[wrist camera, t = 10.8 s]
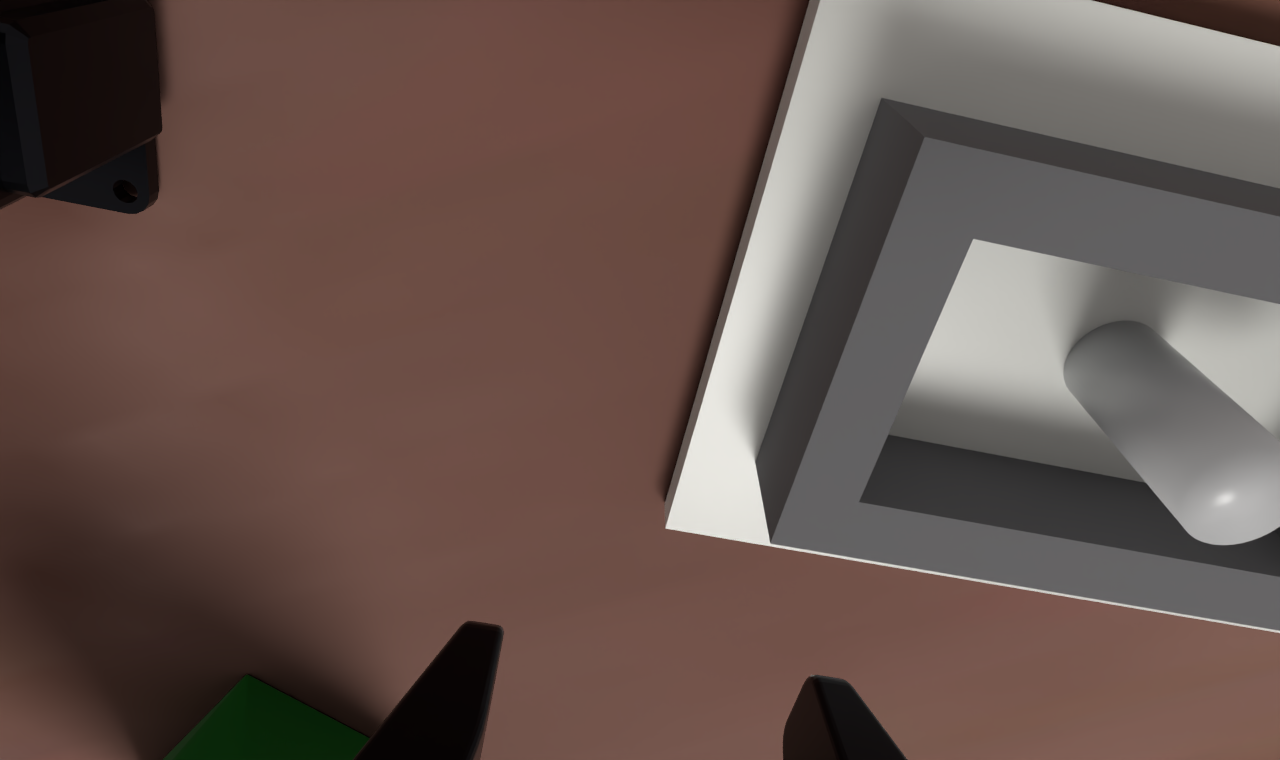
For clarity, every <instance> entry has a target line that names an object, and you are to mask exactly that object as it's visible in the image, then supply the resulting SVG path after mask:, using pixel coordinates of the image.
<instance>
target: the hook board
mask: <svg viewBox="0 0 1280 760" xmlns="http://www.w3.org/2000/svg"><path fill="white" fill-rule="evenodd" d="M881 98H885V99H889V100H894V101H898V102H903V103H907V104H911V105H916V106H920V107H924V108H929V109H933V110H938V111H942V112H946V113H951V114H955V115H960V116H964V117H968V118H973V119H977V120H982V121H986V122H990V123H995V124H999V125H1003V126H1008V127H1012V128H1017V129H1021V130H1025V131H1030V132H1034V133H1039V134H1043V135H1047V136H1052V137H1056V138H1060V139H1065V140H1069V141H1074V142H1078V143H1082V144H1087V145H1091V146H1096V147H1100V148H1104V149H1109V150H1113V151H1118V152H1122V153H1126V154H1131V155H1135V156H1139V157H1144V158H1148V159H1153V160H1157V161H1161V162H1166V163H1170V164H1175V165H1179V166H1183V167H1188V168H1192V169H1197V170H1201V171H1205V172H1210V173H1214V174H1218V175H1223V176H1227V177H1232V178H1236V179H1240V180H1245V181H1249V182H1254V183H1258V184H1262V185H1267V186H1271V187H1275V188H1280V46H1276V45H1272V44H1268V43H1264V42H1260V41H1256V40H1252V39H1248V38H1244V37H1240V36H1236V35H1232V34H1228V33H1223V32H1219V31H1215V30H1211V29H1207V28H1203V27H1199V26H1195V25H1191V24H1187V23H1183V22H1179V21H1175V20H1170V19H1166V18H1162V17H1158V16H1154V15H1150V14H1146V13H1142V12H1138V11H1134V10H1130V9H1126V8H1122V7H1117V6H1113V5H1109V4H1105V3H1101V2H1097V1H1093V0H810V1H809V4H808V8H807V11H806V15H805V18H804V21H803V25H802V28H801V32H800V35H799V39H798V42H797V46H796V49H795V53H794V56H793V60H792V63H791V67H790V70H789V74H788V77H787V81H786V84H785V88H784V91H783V94H782V98H781V101H780V105H779V108H778V112H777V115H776V119H775V122H774V126H773V129H772V133H771V136H770V140H769V143H768V147H767V150H766V154H765V157H764V161H763V164H762V167H761V171H760V174H759V178H758V181H757V185H756V188H755V192H754V195H753V199H752V202H751V206H750V209H749V213H748V216H747V220H746V223H745V227H744V230H743V234H742V237H741V240H740V244H739V247H738V251H737V254H736V258H735V261H734V265H733V268H732V272H731V275H730V279H729V282H728V286H727V289H726V293H725V296H724V300H723V303H722V307H721V310H720V313H719V317H718V320H717V324H716V327H715V331H714V334H713V338H712V341H711V345H710V348H709V352H708V355H707V359H706V362H705V366H704V369H703V373H702V376H701V380H700V383H699V386H698V390H697V393H696V397H695V400H694V404H693V407H692V411H691V414H690V418H689V421H688V425H687V428H686V432H685V435H684V439H683V442H682V446H681V449H680V453H679V456H678V459H677V463H676V466H675V470H674V473H673V477H672V480H671V484H670V487H669V491H668V494H667V498H666V501H665V528H666V529H672V530H678V531H684V532H690V533H696V534H701V535H707V536H713V537H719V538H725V539H731V540H737V541H743V542H749V543H754V544H760V545H766V546H772V547H778V548H784V549H790V550H796V551H801V552H807V553H813V554H819V555H825V556H831V557H837V558H843V559H848V560H854V561H860V562H866V563H872V564H878V565H884V566H890V567H895V568H901V569H907V570H913V571H919V572H925V573H931V574H937V575H943V576H948V577H954V578H960V579H966V580H972V581H978V582H984V583H990V584H995V585H1001V586H1007V587H1013V588H1019V589H1025V590H1031V591H1037V592H1042V593H1048V594H1054V595H1060V596H1066V597H1072V598H1078V599H1084V600H1089V601H1095V602H1101V603H1107V604H1113V605H1119V606H1125V607H1131V608H1137V609H1142V610H1148V611H1154V612H1160V613H1166V614H1172V615H1178V616H1184V617H1189V618H1195V619H1201V620H1207V621H1213V622H1219V623H1225V624H1231V625H1236V626H1242V627H1248V628H1254V629H1260V630H1266V631H1272V632H1278V633H1280V631H1278V630H1273V629H1267V628H1261V627H1255V626H1249V625H1243V624H1237V623H1232V622H1226V621H1220V620H1214V619H1208V618H1202V617H1197V616H1191V615H1185V614H1179V613H1173V612H1167V611H1161V610H1156V609H1150V608H1144V607H1138V606H1132V605H1126V604H1121V603H1115V602H1109V601H1103V600H1097V599H1091V598H1085V597H1080V596H1074V595H1068V594H1062V593H1056V592H1050V591H1045V590H1039V589H1033V588H1027V587H1021V586H1015V585H1009V584H1004V583H998V582H992V581H986V580H980V579H974V578H968V577H963V576H957V575H951V574H945V573H939V572H933V571H928V570H922V569H916V568H910V567H904V566H898V565H892V564H887V563H881V562H875V561H869V560H863V559H857V558H852V557H846V556H840V555H834V554H828V553H822V552H816V551H811V550H805V549H799V548H793V547H787V546H781V545H775V544H770V539H769V534H768V529H767V523H766V518H765V513H764V507H763V502H762V497H761V491H760V486H759V481H758V475H757V470H756V464H755V462H756V459H757V456H758V453H759V450H760V447H761V444H762V442H763V439H764V436H765V433H766V430H767V427H768V424H769V421H770V418H771V416H772V413H773V410H774V407H775V404H776V401H777V398H778V395H779V392H780V390H781V387H782V384H783V381H784V378H785V375H786V372H787V369H788V366H789V364H790V361H791V358H792V355H793V352H794V349H795V346H796V343H797V340H798V338H799V335H800V332H801V329H802V326H803V323H804V320H805V317H806V314H807V312H808V309H809V306H810V303H811V300H812V297H813V294H814V291H815V288H816V286H817V283H818V280H819V277H820V274H821V271H822V268H823V265H824V262H825V260H826V257H827V254H828V251H829V248H830V245H831V242H832V239H833V236H834V234H835V231H836V228H837V225H838V222H839V219H840V216H841V213H842V210H843V208H844V205H845V202H846V199H847V196H848V193H849V190H850V187H851V184H852V182H853V179H854V176H855V173H856V170H857V167H858V164H859V161H860V158H861V156H862V153H863V150H864V147H865V144H866V141H867V138H868V135H869V132H870V130H871V127H872V124H873V121H874V118H875V115H876V112H877V109H878V106H879V104H880V101H881ZM888 435H893V436H898V437H904V438H909V439H914V440H920V441H925V442H931V443H936V444H941V445H947V446H952V447H957V448H963V449H968V450H973V451H979V452H984V453H989V454H995V455H1000V456H1005V457H1011V458H1016V459H1022V460H1027V461H1032V462H1038V463H1043V464H1048V465H1054V466H1059V467H1064V468H1070V469H1075V470H1080V471H1086V472H1091V473H1096V474H1102V475H1107V476H1112V477H1118V478H1123V479H1129V480H1134V481H1139V482H1145V483H1147V485H1148V486H1149V487H1150V488H1151V489H1152V491H1153V492H1154V493H1155V494H1156V495H1157V497H1158V498H1159V499H1160V500H1161V501H1162V503H1163V504H1164V505H1165V506H1166V507H1167V509H1168V510H1169V511H1170V512H1171V513H1172V514H1173V516H1174V517H1175V518H1176V519H1177V520H1178V522H1179V523H1180V524H1181V525H1182V526H1183V528H1184V529H1185V530H1186V531H1187V532H1188V534H1190V535H1191V536H1192V537H1194V538H1195V539H1197V540H1199V541H1202V542H1204V543H1208V544H1214V545H1234V544H1240V543H1244V542H1248V541H1252V540H1254V539H1257V538H1260V537H1262V536H1264V535H1267V534H1268V533H1270V532H1272V531H1274V530H1275V529H1277V528H1278V527H1280V304H1277V303H1272V302H1267V301H1263V300H1258V299H1253V298H1248V297H1244V296H1239V295H1234V294H1230V293H1225V292H1220V291H1216V290H1211V289H1206V288H1202V287H1197V286H1192V285H1187V284H1183V283H1178V282H1173V281H1169V280H1164V279H1159V278H1155V277H1150V276H1145V275H1141V274H1136V273H1131V272H1126V271H1122V270H1117V269H1112V268H1108V267H1103V266H1098V265H1094V264H1089V263H1084V262H1080V261H1075V260H1070V259H1065V258H1061V257H1056V256H1051V255H1047V254H1042V253H1037V252H1033V251H1028V250H1023V249H1018V248H1014V247H1009V246H1004V245H1000V244H995V243H990V242H986V241H981V240H976V239H973V241H972V243H971V245H970V247H969V250H968V252H967V254H966V257H965V259H964V261H963V264H962V266H961V268H960V270H959V273H958V275H957V277H956V280H955V282H954V284H953V287H952V289H951V291H950V294H949V296H948V298H947V300H946V303H945V305H944V307H943V310H942V312H941V314H940V317H939V319H938V321H937V323H936V326H935V328H934V330H933V333H932V335H931V337H930V340H929V342H928V344H927V346H926V349H925V351H924V353H923V356H922V358H921V360H920V363H919V365H918V367H917V369H916V372H915V374H914V376H913V379H912V381H911V383H910V386H909V388H908V390H907V393H906V395H905V397H904V399H903V402H902V404H901V406H900V409H899V411H898V413H897V416H896V418H895V420H894V422H893V425H892V427H891V429H890V432H889V434H888Z"/></svg>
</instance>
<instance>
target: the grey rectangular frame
mask: <svg viewBox="0 0 1280 760" xmlns="http://www.w3.org/2000/svg"><path fill="white" fill-rule="evenodd" d="M973 239H976V240H981V241H986V242H990V243H995V244H1000V245H1004V246H1009V247H1014V248H1018V249H1023V250H1028V251H1033V252H1037V253H1042V254H1047V255H1051V256H1056V257H1061V258H1065V259H1070V260H1075V261H1080V262H1084V263H1089V264H1094V265H1098V266H1103V267H1108V268H1112V269H1117V270H1122V271H1126V272H1131V273H1136V274H1141V275H1145V276H1150V277H1155V278H1159V279H1164V280H1169V281H1173V282H1178V283H1183V284H1187V285H1192V286H1197V287H1202V288H1206V289H1211V290H1216V291H1220V292H1225V293H1230V294H1234V295H1239V296H1244V297H1248V298H1253V299H1258V300H1263V301H1267V302H1272V303H1277V304H1280V188H1275V187H1271V186H1267V185H1262V184H1258V183H1254V182H1249V181H1245V180H1240V179H1236V178H1232V177H1227V176H1223V175H1218V174H1214V173H1210V172H1205V171H1201V170H1197V169H1192V168H1188V167H1183V166H1179V165H1175V164H1170V163H1166V162H1161V161H1157V160H1153V159H1148V158H1144V157H1139V156H1135V155H1131V154H1126V153H1122V152H1118V151H1113V150H1109V149H1104V148H1100V147H1096V146H1091V145H1087V144H1082V143H1078V142H1074V141H1069V140H1065V139H1060V138H1056V137H1052V136H1047V135H1043V134H1039V133H1034V132H1030V131H1025V130H1021V129H1017V128H1012V127H1008V126H1003V125H999V124H995V123H990V122H986V121H982V120H977V119H973V118H968V117H964V116H960V115H955V114H951V113H946V112H942V111H938V110H933V109H929V108H924V107H920V106H916V105H911V104H907V103H903V102H898V101H894V100H889V99H885V98H881V101H880V104H879V106H878V109H877V112H876V115H875V118H874V121H873V124H872V127H871V130H870V132H869V135H868V138H867V141H866V144H865V147H864V150H863V153H862V156H861V158H860V161H859V164H858V167H857V170H856V173H855V176H854V179H853V182H852V184H851V187H850V190H849V193H848V196H847V199H846V202H845V205H844V208H843V210H842V213H841V216H840V219H839V222H838V225H837V228H836V231H835V234H834V236H833V239H832V242H831V245H830V248H829V251H828V254H827V257H826V260H825V262H824V265H823V268H822V271H821V274H820V277H819V280H818V283H817V286H816V288H815V291H814V294H813V297H812V300H811V303H810V306H809V309H808V312H807V314H806V317H805V320H804V323H803V326H802V329H801V332H800V335H799V338H798V340H797V343H796V346H795V349H794V352H793V355H792V358H791V361H790V364H789V366H788V369H787V372H786V375H785V378H784V381H783V384H782V387H781V390H780V392H779V395H778V398H777V401H776V404H775V407H774V410H773V413H772V416H771V418H770V421H769V424H768V427H767V430H766V433H765V436H764V439H763V442H762V444H761V447H760V450H759V453H758V456H757V459H756V462H755V464H756V470H757V475H758V481H759V486H760V491H761V497H762V502H763V507H764V513H765V518H766V523H767V529H768V534H769V539H770V544H775V545H781V546H787V547H793V548H799V549H805V550H811V551H816V552H822V553H828V554H834V555H840V556H846V557H852V558H857V559H863V560H869V561H875V562H881V563H887V564H892V565H898V566H904V567H910V568H916V569H922V570H928V571H933V572H939V573H945V574H951V575H957V576H963V577H968V578H974V579H980V580H986V581H992V582H998V583H1004V584H1009V585H1015V586H1021V587H1027V588H1033V589H1039V590H1045V591H1050V592H1056V593H1062V594H1068V595H1074V596H1080V597H1085V598H1091V599H1097V600H1103V601H1109V602H1115V603H1121V604H1126V605H1132V606H1138V607H1144V608H1150V609H1156V610H1161V611H1167V612H1173V613H1179V614H1185V615H1191V616H1197V617H1202V618H1208V619H1214V620H1220V621H1226V622H1232V623H1237V624H1243V625H1249V626H1255V627H1261V628H1267V629H1273V630H1278V631H1280V527H1278V528H1277V529H1275V530H1274V531H1272V532H1270V533H1268V534H1267V535H1264V536H1262V537H1260V538H1257V539H1254V540H1252V541H1248V542H1244V543H1240V544H1234V545H1214V544H1208V543H1204V542H1202V541H1199V540H1197V539H1195V538H1194V537H1192V536H1191V535H1190V534H1188V532H1187V531H1186V530H1185V529H1184V528H1183V526H1182V525H1181V524H1180V523H1179V522H1178V520H1177V519H1176V518H1175V517H1174V516H1173V514H1172V513H1171V512H1170V511H1169V510H1168V509H1167V507H1166V506H1165V505H1164V504H1163V503H1162V501H1161V500H1160V499H1159V498H1158V497H1157V495H1156V494H1155V493H1154V492H1153V491H1152V489H1151V488H1150V487H1149V486H1148V485H1147V483H1145V482H1139V481H1134V480H1129V479H1123V478H1118V477H1112V476H1107V475H1102V474H1096V473H1091V472H1086V471H1080V470H1075V469H1070V468H1064V467H1059V466H1054V465H1048V464H1043V463H1038V462H1032V461H1027V460H1022V459H1016V458H1011V457H1005V456H1000V455H995V454H989V453H984V452H979V451H973V450H968V449H963V448H957V447H952V446H947V445H941V444H936V443H931V442H925V441H920V440H914V439H909V438H904V437H898V436H893V435H888V434H889V432H890V429H891V427H892V425H893V422H894V420H895V418H896V416H897V413H898V411H899V409H900V406H901V404H902V402H903V399H904V397H905V395H906V393H907V390H908V388H909V386H910V383H911V381H912V379H913V376H914V374H915V372H916V369H917V367H918V365H919V363H920V360H921V358H922V356H923V353H924V351H925V349H926V346H927V344H928V342H929V340H930V337H931V335H932V333H933V330H934V328H935V326H936V323H937V321H938V319H939V317H940V314H941V312H942V310H943V307H944V305H945V303H946V300H947V298H948V296H949V294H950V291H951V289H952V287H953V284H954V282H955V280H956V277H957V275H958V273H959V270H960V268H961V266H962V264H963V261H964V259H965V257H966V254H967V252H968V250H969V247H970V245H971V243H972V241H973Z"/></svg>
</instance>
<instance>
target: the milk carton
mask: <svg viewBox="0 0 1280 760" xmlns="http://www.w3.org/2000/svg"><path fill="white" fill-rule="evenodd" d="M369 739H370V738H368V737H366V736H364V735H363V734H361V733H359V732H357V731H355V730H353V729H351V728H349V727H347V726H345V725H343V724H342V723H340V722H338V721H336V720H334V719H332V718H330V717H328V716H326V715H324V714H322V713H320V712H319V711H317V710H315V709H313V708H311V707H309V706H307V705H305V704H303V703H301V702H299V701H298V700H296V699H294V698H292V697H290V696H288V695H286V694H284V693H282V692H280V691H278V690H276V689H275V688H273V687H271V686H269V685H267V684H265V683H263V682H261V681H259V680H257V679H255V678H254V677H252V676H250V675H245V676H244V677H243V678H242V679H241V680H240V681H239V682H238V683H237V684H236V685H235V686H234V687H233V688H232V689H231V690H230V692H229V693H228V694H227V695H226V696H225V697H224V698H223V699H222V700H221V701H220V702H219V703H218V704H217V705H216V706H215V707H214V708H213V709H212V710H211V711H210V712H209V713H208V714H207V715H206V716H205V717H204V718H203V719H202V720H201V721H200V722H199V723H198V724H197V725H196V726H195V727H194V728H193V729H192V730H191V731H190V732H189V733H188V734H187V735H186V736H185V737H184V738H183V739H182V740H181V741H180V742H179V743H178V744H177V745H176V746H175V748H174V749H173V750H172V751H171V752H170V753H169V754H168V755H167V756H166V757H165V758H164V759H163V760H353V759H354V758H355V756H356V755H357V754H358V753H359V751H360V750H361V749H362V748H363V746H364V745H365V744H366V743H367V741H368V740H369Z"/></svg>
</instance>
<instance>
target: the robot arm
mask: <svg viewBox="0 0 1280 760" xmlns="http://www.w3.org/2000/svg"><path fill="white" fill-rule="evenodd" d="M161 131H162V117H161V103H160V89H159V74H158V60H157V46H156V32H155V18H154V10H153V8H152V7H151V5H150V4H149V2H148V1H147V0H0V209H2V208H4V207H6V206H8V205H10V204H12V203H14V202H16V201H18V200H20V199H22V198H24V197H26V196H30V197H35V198H36V197H45V198H50V199H55V200H60V201H66V202H71V203H76V204H81V205H86V206H91V207H96V208H102V209H107V210H112V211H117V212H122V213H127V214H137V213H139V212H141V211H144V210H145V209H147V208H148V207H150V206H151V205H153V204H154V203H155V201H156V200H157V199H158V192H159V187H158V174H157V161H156V147H155V137H156V136H157V135H158V134H160V133H161ZM123 180H126V181H128V182H130V183H131V184H132V185H133V186H134V187H135V188H136V190H137V193H138V196H137V197H135V196H132V195H130V194H129V193H128V192H127V191H126V190H125V188H124V186H123ZM503 635H504V631H503V628H502V627H501V626H499V625H495V624H488V623H482V622H475V621H467V622H465V623H464V624H463V625H461V627H460V628H459V629H458V630H457V631H456V633H455V634H454V635H453V636H452V638H451V639H450V640H449V641H448V642H447V644H446V645H445V646H444V647H443V649H442V650H441V651H440V652H439V654H438V655H437V656H436V657H435V659H434V660H433V661H432V662H431V663H430V665H429V666H428V667H427V668H426V670H425V671H424V672H423V673H422V675H421V676H420V677H419V678H418V680H417V681H416V682H415V683H414V685H413V686H412V687H411V688H410V689H409V691H408V692H407V693H406V694H405V696H404V697H403V698H402V699H401V701H400V702H399V703H398V704H397V706H396V707H395V708H394V709H393V710H392V712H391V713H390V714H389V715H388V717H387V718H386V719H385V720H384V722H383V723H382V724H381V725H380V727H379V728H378V729H377V730H376V732H375V733H374V734H373V735H372V736H371V738H370V739H369V740H368V741H367V743H366V744H365V745H364V746H363V748H362V749H361V750H360V751H359V753H358V754H357V755H356V756H355V758H354V759H353V760H480V757H481V752H482V747H483V742H484V736H485V731H486V726H487V721H488V715H489V710H490V705H491V700H492V694H493V689H494V684H495V678H496V673H497V668H498V662H499V657H500V651H501V646H502V641H503ZM783 760H907V759H906V757H905V756H904V755H903V753H902V752H901V751H900V749H899V748H898V747H897V745H896V744H895V743H894V741H893V740H892V739H891V737H890V736H889V735H888V733H887V732H886V731H885V729H884V728H883V727H882V725H881V724H880V723H879V721H878V720H877V719H876V717H875V716H874V715H873V713H872V712H871V711H870V709H869V708H868V707H867V705H866V704H865V703H864V701H863V700H862V699H861V697H860V696H859V695H858V693H857V692H856V691H855V689H854V688H853V687H852V686H851V685H850V684H849V683H848V682H847V681H845V680H843V679H839V678H833V677H826V676H820V675H811V676H810V677H808V678H807V679H806V681H805V682H804V684H803V686H802V689H801V691H800V693H799V695H798V697H797V700H796V702H795V704H794V706H793V708H792V711H791V713H790V715H789V717H788V719H787V722H786V725H785V729H784V735H783Z"/></svg>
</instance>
